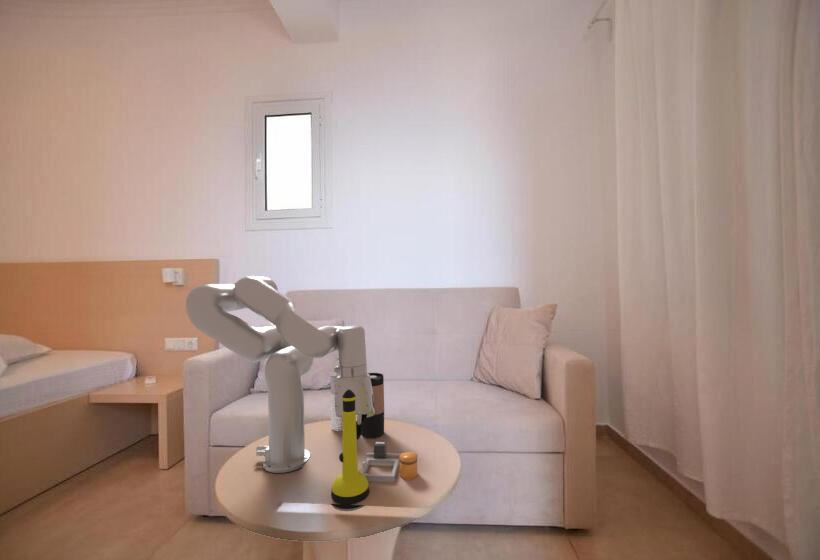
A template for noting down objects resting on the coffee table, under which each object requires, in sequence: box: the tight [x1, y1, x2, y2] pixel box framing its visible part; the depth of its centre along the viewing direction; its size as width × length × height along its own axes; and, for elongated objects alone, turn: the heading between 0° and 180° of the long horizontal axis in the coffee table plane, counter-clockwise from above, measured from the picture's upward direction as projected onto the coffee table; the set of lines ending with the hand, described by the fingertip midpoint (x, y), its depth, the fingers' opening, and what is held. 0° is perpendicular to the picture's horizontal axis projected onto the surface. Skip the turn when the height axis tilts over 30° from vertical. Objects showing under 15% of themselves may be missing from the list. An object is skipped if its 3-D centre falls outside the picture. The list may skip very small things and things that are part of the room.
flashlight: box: [330, 390, 370, 512], centre depth 82 cm, size 25×9×9 cm
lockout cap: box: [399, 451, 418, 481], centre depth 89 cm, size 4×4×6 cm
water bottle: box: [329, 356, 343, 432], centre depth 120 cm, size 7×7×25 cm
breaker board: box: [360, 452, 402, 483], centre depth 93 cm, size 14×14×3 cm
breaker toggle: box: [373, 440, 388, 459], centre depth 97 cm, size 3×3×5 cm
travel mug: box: [361, 372, 385, 440], centre depth 114 cm, size 8×8×20 cm
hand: (356, 437), depth 97 cm, fingers closed
